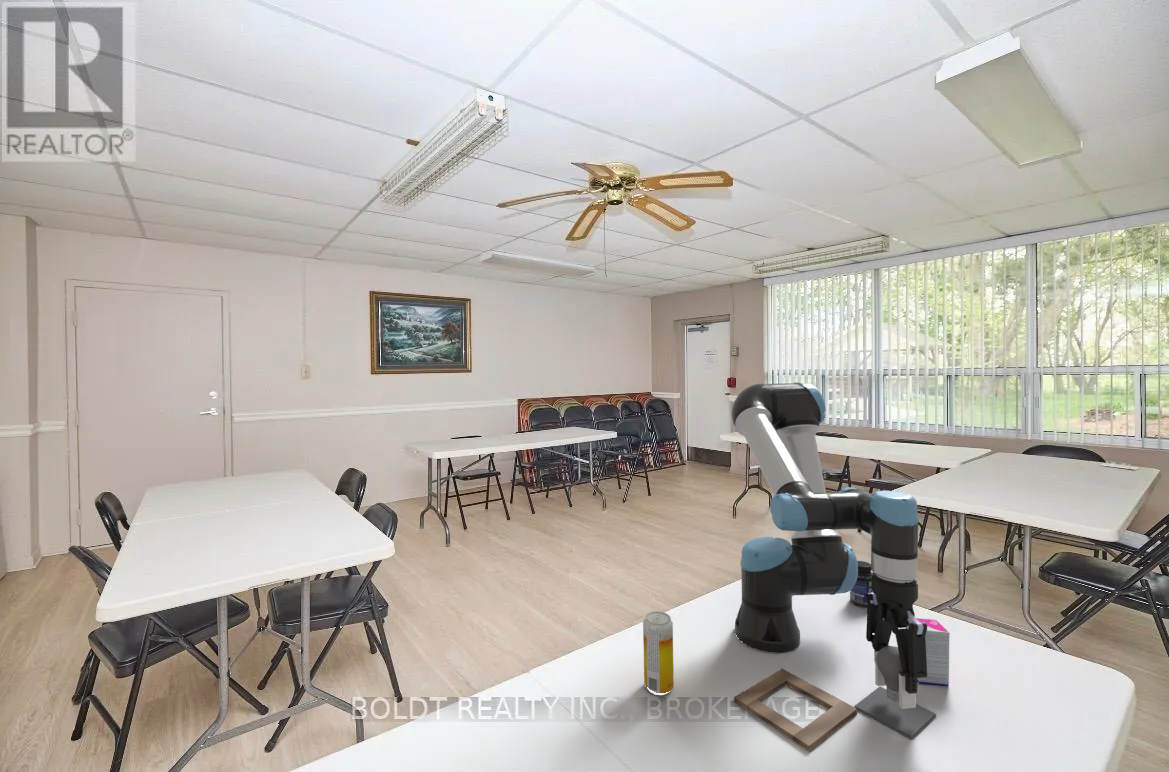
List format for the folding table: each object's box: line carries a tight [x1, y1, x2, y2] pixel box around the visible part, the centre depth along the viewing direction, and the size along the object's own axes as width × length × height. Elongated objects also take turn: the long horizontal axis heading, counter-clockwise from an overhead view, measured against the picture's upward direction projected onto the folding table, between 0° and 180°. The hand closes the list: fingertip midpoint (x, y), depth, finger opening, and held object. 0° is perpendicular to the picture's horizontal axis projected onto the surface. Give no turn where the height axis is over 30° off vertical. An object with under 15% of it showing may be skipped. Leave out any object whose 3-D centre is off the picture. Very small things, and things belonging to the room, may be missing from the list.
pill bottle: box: [849, 560, 873, 608], centre depth 139 cm, size 6×6×11 cm
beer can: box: [642, 610, 675, 693], centre depth 104 cm, size 6×6×15 cm
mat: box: [854, 686, 937, 740], centre depth 95 cm, size 10×10×1 cm
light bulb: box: [876, 645, 902, 702], centre depth 95 cm, size 6×6×10 cm
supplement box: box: [915, 617, 951, 688], centre depth 106 cm, size 6×6×12 cm
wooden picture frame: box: [733, 668, 858, 752], centre depth 97 cm, size 16×16×1 cm
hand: (894, 695), depth 95 cm, fingers closed on light bulb, 6 cm apart
